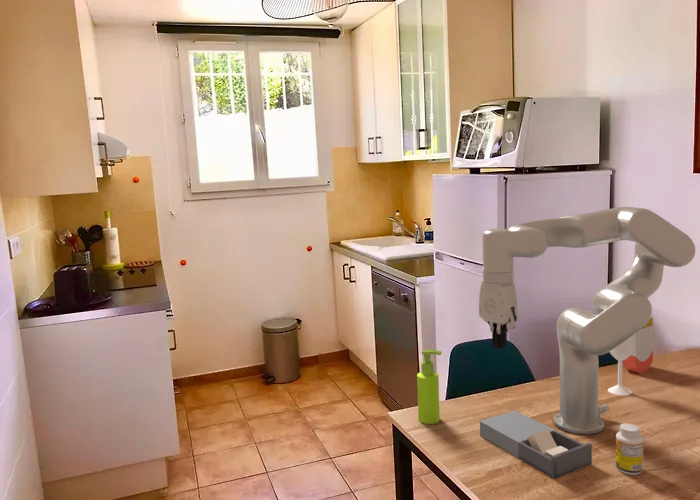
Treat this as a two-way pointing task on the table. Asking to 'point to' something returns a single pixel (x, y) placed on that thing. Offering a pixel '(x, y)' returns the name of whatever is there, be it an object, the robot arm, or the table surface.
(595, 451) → the table surface
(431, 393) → the soap dispenser
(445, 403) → the table surface
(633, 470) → the supplement bottle
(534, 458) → the box
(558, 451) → the front tile
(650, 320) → the french fries container
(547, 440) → the rear tile
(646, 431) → the table surface
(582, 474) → the table surface
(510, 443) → the grey box sleeve
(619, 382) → the champagne flute
